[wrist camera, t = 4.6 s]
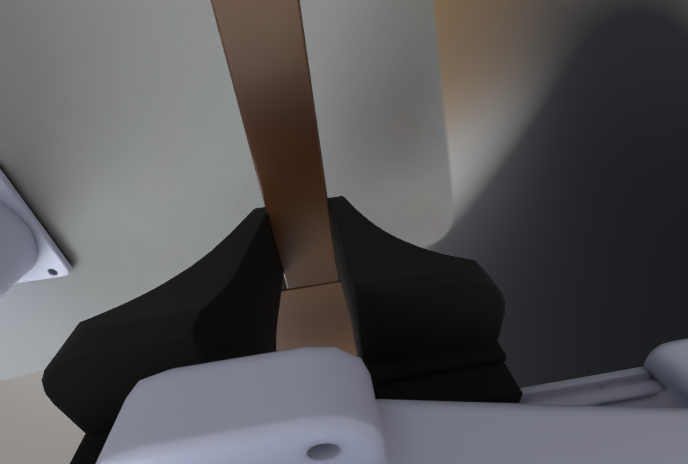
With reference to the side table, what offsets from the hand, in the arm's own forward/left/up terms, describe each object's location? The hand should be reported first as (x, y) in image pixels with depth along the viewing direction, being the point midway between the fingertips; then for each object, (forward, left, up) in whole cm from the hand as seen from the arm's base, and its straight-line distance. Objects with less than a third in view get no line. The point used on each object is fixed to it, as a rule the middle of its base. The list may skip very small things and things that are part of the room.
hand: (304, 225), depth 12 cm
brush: (0, +2, -2) cm, 2 cm away
